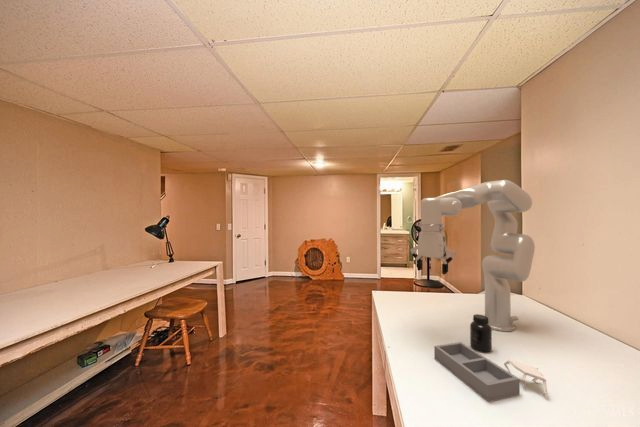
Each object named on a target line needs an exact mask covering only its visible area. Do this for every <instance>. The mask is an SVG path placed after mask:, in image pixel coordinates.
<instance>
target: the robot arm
mask: <svg viewBox="0 0 640 427" xmlns="http://www.w3.org/2000/svg"><path fill="white" fill-rule="evenodd" d="M485 203H487V208H488V209H489V211H490V212H491V214H492V217H493V219H494V227H493V232H492V236H491V241H490V248H491V250H492V251H493V252H495V253H498V254H502V255H496V254H495V255H494V254H493V255H492V254H491V255H487V256H485V257H483V259H482V261H481V268H482V273H483V277H484V278H483V279H484V316H486V317H488V321H489V323H488V324H489V325H490V326H491V328H492V330H495V331H500V332H513V331H515V330H516V325H515V324H513V322H515V321H519V318H518V316H517V315H513V316H511V314H512V313H511V286H510V284H509V282H508V280H509V281H513V282H518V283H521V282H522V283H523V282H525V281H527V280H528V278H529V276H530V273H531V269H532V265H533V259H534V254H535V250H536V247H535V241H534V240H533V238H532V237H531V236H530V235H528V234H524V233H523V234H522V233H518V232H517V231H518V224H519V223H518V221H517V219H516V218H515V216H514V215H513V214H512V213H525V212H528V211H529V210H530V209H531V208H532V206H533V200H532V197H531V196H530V194H529V193H528V192H526V190H524V189H523V188H522V187H520V186H519V185H518V184H516V183H515V182H513V181H511V180H509V179H501V180H500V179H499V180H492V181H485V182H482V183H479V184H476V185H473V186H471V187H467V188H464V189H460V190H457V191H454V192H449V193H445V194H442V195H439V196H436V197H425V198H423V199H422V200H421V201H420V210H421V211H420V222H421V223H420V227H421V231H420V232H419V233H418V234H419V235H418V241H417V246H415V247H412V248H410V252H411V253H410V254H411V256H412V257H413V258H414V259H415V261H416V268H417V269H416V270H417V271H421V270H423V259H422V258H423V257H424V258H430V259H431V258H432V259H440V260H441V261H442V264H441V269H442V270H441V274H442V275H446V274H447V273H448V272H449V263H451V262H452V261H453V259H454V258H455V256H456V252H455V251H453V250H451V249H449V248H447V246H448V245H447V240H446V239H447V238H446V234H445V232H443V231H445V230H446V229H447V227H446V226H444V225H443V223H442V221H443V218H442V217H453V216H457V215H459V214H460V212H462V210H464V209H470V208H475V207H477V206H480V205H482V204H485ZM416 251H417V253H416ZM447 255H449V257H447ZM504 255H508V256H504ZM509 256H513V257H509Z"/></svg>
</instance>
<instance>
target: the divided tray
mask: <svg viewBox="0 0 640 427" xmlns="http://www.w3.org/2000/svg"><path fill="white" fill-rule="evenodd" d="M434 360H435V361H436V362H438V363H439V364H440V365H441V366H443V367H444V368H445V369H446V370H448V371H449V372H450V373H452V374H453V375H454V376H455V377H456V378H457V379H459V380H460V381H461V382H463V384H465V385H466V386H467V387H468V388H469V389H471V390H472V391H473V392H475V394H477V395H478V396H480V398H482V399H483V400H484V401H486V402H487V403H490V402H495V401H500V400H503V399H507V398H512V397H515V396H520V395H521V394H520V393H521V392H520V391H521V390H520V389H521V388H520V387H521V386H520V385H521V384H520V379H521V378H520V377H517V376H516V375H514V374H512V372H511V373H509V371H508V370H507V369H506V368H503V367H502V366H500V365H498V364H497V363H496V362H493V361H492V360H490V359H488V358H487V357H485V356H484V355H482V354H481V353H480V352H479V351H476V350H474V349H473V348H472V347H471V346H470V347H469V346H468V345H466V344H465V343H463V342H461V341H459V342H451V343H445V344H438V345H434Z"/></svg>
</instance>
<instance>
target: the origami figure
mask: <svg viewBox="0 0 640 427" xmlns="http://www.w3.org/2000/svg"><path fill="white" fill-rule="evenodd" d="M509 364H510V365H511V366H512V367H513V368H515V369H516V370H517V371H519V372H521V373H522V377H521V381H522V384H523V389H524V390H527V384H526V381H525V380H526V378H527V376H528V377H531V378H532V379H531V382H533V383H535V384H538V385H540V383H539V382H537V380H539V381H542V383H543V385H544V391H542V392H541V396H542V397H543V398H545V394H548V387H547V386H548V385H547V379H546V378H545V377H544V374H542V373H541V372H540V371H539V370H538V369H539V367H536V366H533V365H528V364H525V363H521V362H520V361H519V362H518V361H514V360H513V359H508V360H506V361H505V362H504V364H503V365H504V366H505V369H506V371H508V372H509V373H511V374H512V372H511V370H510V369H509V367H508V365H509Z"/></svg>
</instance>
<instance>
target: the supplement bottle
mask: <svg viewBox="0 0 640 427" xmlns="http://www.w3.org/2000/svg"><path fill="white" fill-rule="evenodd" d="M472 320H473V321H471V323H470V326H469V328H470V329H469V330H470V332H469V333H470V335H469V337H470V340H469V342H470V348H471V349H473V350H474V351H476V352H478V353H483V354H486V353H487V354H488V353H492V348H493V338H492V336H493V335H492V334H493V329H492V328H491V326H490V325H489V324H488V323H489V321H488V317H486V316H485V314H473V317H472Z"/></svg>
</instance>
